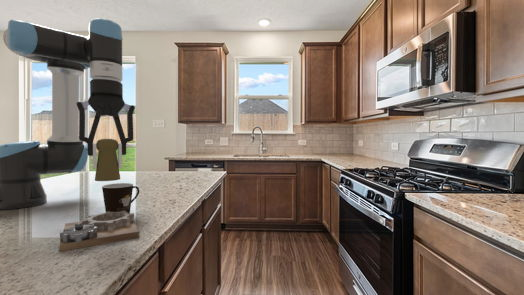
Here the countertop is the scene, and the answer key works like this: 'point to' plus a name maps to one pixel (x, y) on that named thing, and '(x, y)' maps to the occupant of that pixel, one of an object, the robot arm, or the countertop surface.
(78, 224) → the gear
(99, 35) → the robot arm
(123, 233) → the gear board
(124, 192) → the coffee mug
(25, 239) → the countertop surface
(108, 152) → the cork
